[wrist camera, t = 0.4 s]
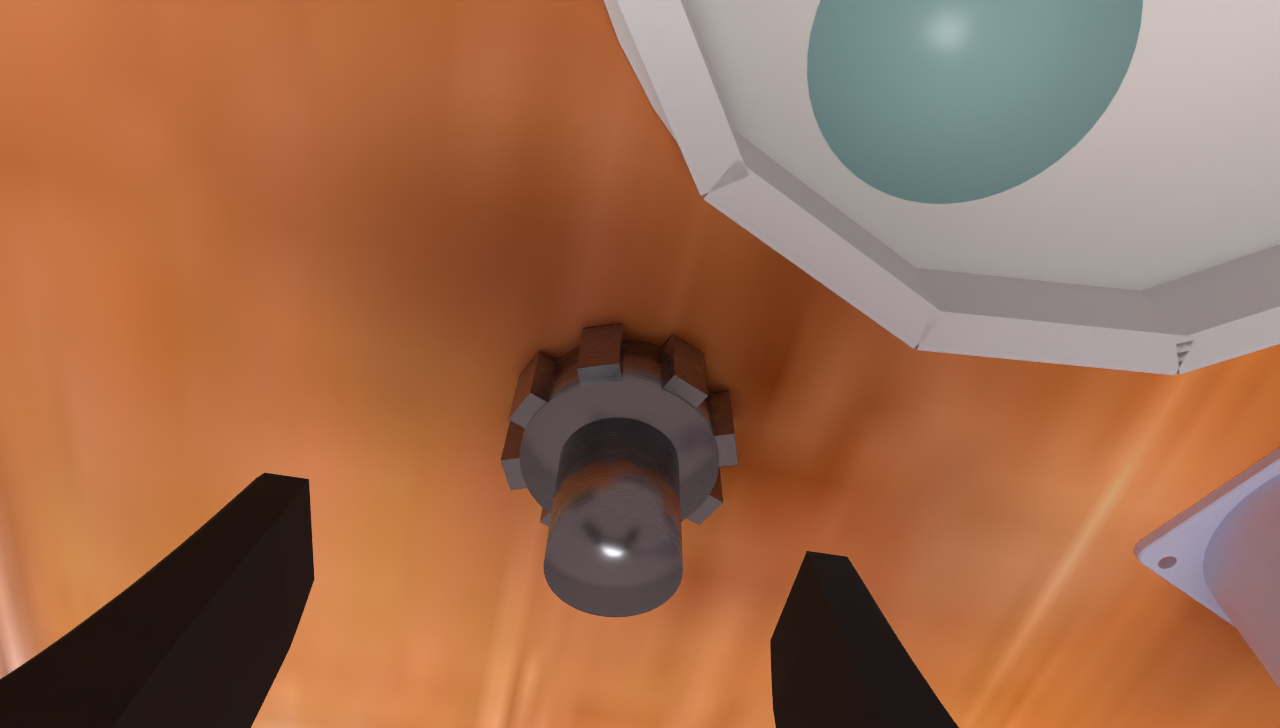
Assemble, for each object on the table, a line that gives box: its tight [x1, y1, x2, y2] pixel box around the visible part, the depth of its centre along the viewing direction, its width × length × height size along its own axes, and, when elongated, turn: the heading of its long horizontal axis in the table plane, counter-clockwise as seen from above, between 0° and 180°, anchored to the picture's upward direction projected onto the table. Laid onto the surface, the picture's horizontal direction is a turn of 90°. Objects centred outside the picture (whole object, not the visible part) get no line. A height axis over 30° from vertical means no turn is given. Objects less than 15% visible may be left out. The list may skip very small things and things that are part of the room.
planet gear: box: [501, 324, 738, 617], centre depth 20 cm, size 6×6×6 cm
